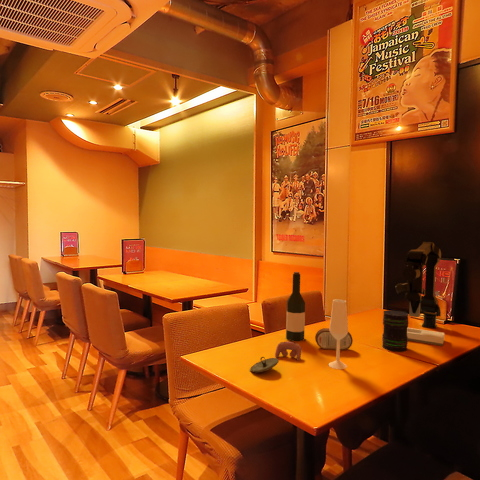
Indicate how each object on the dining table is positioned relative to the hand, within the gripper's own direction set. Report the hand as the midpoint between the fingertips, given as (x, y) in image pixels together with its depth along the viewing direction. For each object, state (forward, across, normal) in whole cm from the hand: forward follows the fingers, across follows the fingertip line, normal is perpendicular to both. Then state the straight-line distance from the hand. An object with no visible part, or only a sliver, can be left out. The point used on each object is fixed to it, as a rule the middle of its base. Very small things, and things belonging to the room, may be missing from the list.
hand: (414, 312), depth 173 cm
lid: (+12, +71, -39) cm, 82 cm away
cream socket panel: (+12, 0, 0) cm, 12 cm away
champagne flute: (+12, +52, -19) cm, 57 cm away
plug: (+2, 0, 0) cm, 2 cm away
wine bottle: (+12, +31, -45) cm, 56 cm away
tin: (+12, +35, -26) cm, 45 cm away
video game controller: (+12, +54, -38) cm, 67 cm away
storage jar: (+12, +19, -5) cm, 23 cm away
